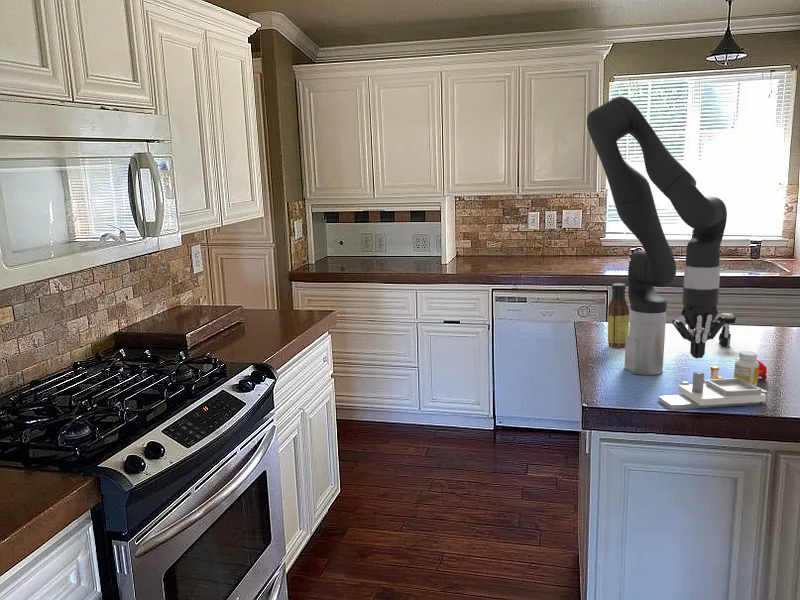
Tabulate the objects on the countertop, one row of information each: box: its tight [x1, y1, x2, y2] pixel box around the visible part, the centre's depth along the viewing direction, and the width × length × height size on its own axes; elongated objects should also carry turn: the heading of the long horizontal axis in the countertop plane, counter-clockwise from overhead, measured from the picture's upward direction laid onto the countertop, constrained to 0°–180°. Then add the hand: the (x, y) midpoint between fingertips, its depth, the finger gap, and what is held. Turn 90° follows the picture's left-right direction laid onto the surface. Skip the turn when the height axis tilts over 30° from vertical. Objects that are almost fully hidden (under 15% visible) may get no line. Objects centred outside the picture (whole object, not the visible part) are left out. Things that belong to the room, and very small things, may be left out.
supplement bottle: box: [733, 350, 759, 387], centre depth 165 cm, size 5×5×10 cm
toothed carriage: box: [677, 371, 766, 406], centre depth 158 cm, size 16×11×6 cm
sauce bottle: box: [607, 282, 630, 350], centre depth 205 cm, size 7×6×20 cm
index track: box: [658, 365, 768, 411], centre depth 160 cm, size 24×12×6 cm, turn 97°
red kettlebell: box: [755, 359, 768, 384], centre depth 172 cm, size 8×6×6 cm
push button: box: [718, 312, 737, 348], centre depth 205 cm, size 7×5×10 cm
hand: (697, 357), depth 155 cm, fingers closed
